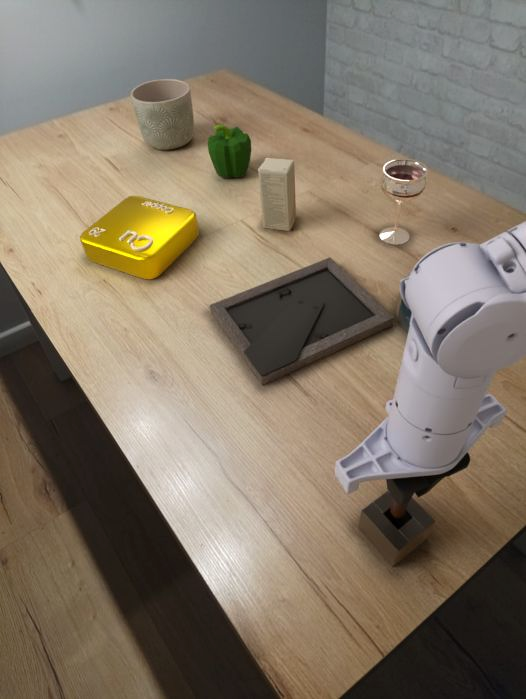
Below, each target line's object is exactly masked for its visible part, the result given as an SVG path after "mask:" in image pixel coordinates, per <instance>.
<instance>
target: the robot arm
mask: <svg viewBox="0 0 526 699" xmlns="http://www.w3.org/2000/svg"><path fill="white" fill-rule="evenodd" d="M410 273H411V274H410ZM410 273H409V274H410V276H409V277H407V276H406V277H407V278H406V277H404V278H401V280H400V281H399V293H400V294H401V297H402V299H403V301H404V303H405V305H406V306H407V307H408V308H409V309H410V310H411V312H412V315H411V319H410V327H409V332H408V333H407V336H406V340H405V345H404V348H403V354H402V359H401V363H400V368H399V372H398V376H397V381H396V385H395V390H394V393H393V398H392V399H389V400H388V401H386V404H385V408H384V409H385V412H386V414H388V416H387V417H386V418H384V420H382V422H381V423H380V424H379V425H378V426H377V427H376V428H374V430H372V432H370V434H368V435H367V436H366V437H365V438H364V439H363V440H362V442H360V444H358V445H357V446H356V447H355V448H354V449H353V450H352V451H351V452H349V453H348V454H347V455H345V456H343V457H341V458H340V459H337V460H336V461H335V465H334V466H335V468H334V475H335V477H336V479H337V480H338V482H339V484H340V485H341V488H342V489H343V491H344V492H345V494H346V495H350V494H352V493H354V492H357V491H358V490H359V487H360V484H361V483H366V482H373V481H383V480H385V481H386V489H387V491H389V492H390V494H391V495H392V497H393V498H394V500H395V501H396V502H397V504H398V505H399V506H402V505H404V504H406V503H408V502H409V501H410V500H411V498H413V497H414V495H416V497H417V498H421V497H423V496H425V495H427V494H428V493H429V492H430V491H431V490H432V489H433V488H434V487H435V486H436V485H438V484H439V483H440V482H441V481H442V480H443V479H445V478H446V477H451V476H453V475H455V474H457V473H459V472H461V471H463V470H465V469H467V468H468V467H469V465H470V462H471V456H470V454H469V451H470V450H471V449H472V447H473V446H474V445H475V444H476V443H477V442H478V441H479V439H480V438H481V437H482V436H483V435H484V434H485V432H486V431H487V430H488V429H490V428H491V429H493V428H496V427H498V426H500V425H501V424H502V423H503V420H504V418H505V416H506V414H507V413H508V410H507V409H506V408H505V406H504V405H503V404H502V403H501V402H500V401H499V400H497V399H496V397H495V396H494V395H493V394H492V393H488V391H489V388H490V386H491V384H492V382H493V380H494V377H495V375H496V373H497V372H498V371H501V370H504V369H508V368H509V367H511V366H514V365H515V364H516V363H518V362H519V361H521V360H522V359H523V358H524V357H526V220H525V221H522V222H521V223H519V224H517V225H515V226H513V227H512V228H509V229H507V230H506V231H504V232H502V233H500V234H498V235H496V236H494V237H492V238H490V239H487V240H486V241H484V242H482V243H475V242H466V241H456V242H455V241H454V242H449V243H445V244H442V245H440V246H437V247H435V248H433V249H431V250H429V251H428V252H427V253H426V254H425V255H423V256H422V257H421V258H420V259H419V260H418V261H417V263H416V264H415V265H414V266H413V268H412V270H411V272H410ZM487 393H488V394H487Z"/></svg>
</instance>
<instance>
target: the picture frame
mask: <svg viewBox="0 0 526 699" xmlns="http://www.w3.org/2000/svg"><path fill="white" fill-rule="evenodd" d="M209 309H210V313H211V315H212V317H213V318H214V319H215V320H216V322H217V324H218V325H219V327H220V328H221V329H222V331H223V332H224V333H225V335H226V336H227V338H228V339H229V340H230V342H231V343H232V345H233V346H234V347H235V349H236V350H237V352H238V353H239V354H240V356H241V358H242V359H243V360H244V362H245V363H246V365H247V366H248V368H249V369H250V370H251V372H252V373H253V375H254V376H255V377H256V378H257V381H258V382H259V383H260V385H261V386H265V385H266V384H269V383H271V382H273V381H276V380H277V379H281V378H282V377H284V376H286V375H288V374H290V373H292V372H295V371H297V370H299V369H302V368H303V367H305V366H308V365H310V364H312V363H314V362H316V361H318V360H321V359H323V358H325V357H328V356H329V355H332V354H334V353H336V352H338V351H340V350H342V349H344V348H347V347H349V346H351V345H353V344H356V343H357V342H360V341H363V340H364V339H366V338H369V337H371V336H374V335H376V334H377V333H379V332H382V331H384V330H386V329H388V328H391V327H392V326H393V325H394V321H395V316H394V315H393V314H391V312H389V311H388V310H387V309H386V308H385V307H384V306H383V305H382V304H381V303H379V301H377V300H376V299H375V298H374V297H373V296H372V295H371V294H370V293H369V292H368V291H367V290H366V289H364V287H363V286H362V285H361V284H359V283H358V281H356V280H355V279H354V278H353V277H352V276H351V275H349V274H348V272H347V271H345V270H344V269H343V268H342V267H341V266H340V265H339V264H338V263H337V262H336V261H335V260H334V259H333V258H331V257H327V258H325V259H322V260H320V261H317V262H315V263H312V264H310V265H307V266H304V267H302V268H300V269H297V270H295V271H292V272H290V273H289V272H288V273H287V274H284V275H281V276H279V277H277V278H275V279H272V280H270V281H267V282H264V283H262V284H259V285H256V286H254V287H251V288H249V289H246V290H244V291H241V292H239V293H236V294H234V295H231V296H229V297H227V298H224V299H222V300H219V301H216V302H213V303H211V304H209Z"/></svg>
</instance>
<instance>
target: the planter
mask: <svg viewBox="0 0 526 699" xmlns="http://www.w3.org/2000/svg"><path fill="white" fill-rule="evenodd" d="M130 99H131V102H132V107H133V110H134V114H135V118H136V121H137V125H138V128H139V130H140V134H141V136H142V139H143V140H144V142H145V143H146V144H147V145H148V146H149V147H151V148H154V149H157V150H163V151H165V150H167V151H169V150H175V149H178V148H179V149H180V148H181V147H183V146H186V145H187V144H188V143H189V142H190V141H191V140H192V139H193V136H194V133H195V120H194V119H195V118H194V109H193V108H194V107H193V98H192V92H191V86H190V85H189V83H187V82H186V81H184V80H181V79H175V78H161V79H154V80H153V79H152V80H149V81H146V82H143V83H141V84H139V85H136V86H135V87H134V88H133V89H132V90H131V91H130Z"/></svg>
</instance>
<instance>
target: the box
mask: <svg viewBox="0 0 526 699" xmlns="http://www.w3.org/2000/svg"><path fill="white" fill-rule="evenodd" d="M257 174H258V183H259V194H260V205H261V206H260V208H261V218H262V227H263V228H264V229H271V230H278V231H286V232H290V231H291V230H292V228H293V226H294V223H295V222H296V220H297V204H296V202H297V201H296V200H297V199H296V172H295V160H294V159H284V158H275V157H274V158H272V157H266V158H265V159H264V160H263V162H262V163H261V165H260V166H259V168H258V169H257Z"/></svg>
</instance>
